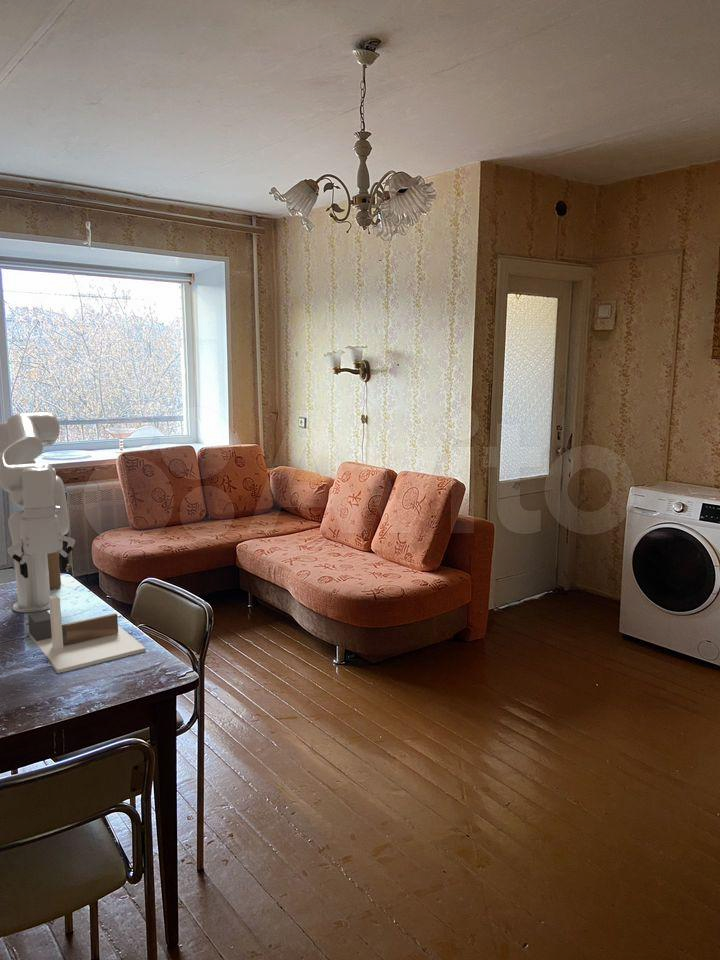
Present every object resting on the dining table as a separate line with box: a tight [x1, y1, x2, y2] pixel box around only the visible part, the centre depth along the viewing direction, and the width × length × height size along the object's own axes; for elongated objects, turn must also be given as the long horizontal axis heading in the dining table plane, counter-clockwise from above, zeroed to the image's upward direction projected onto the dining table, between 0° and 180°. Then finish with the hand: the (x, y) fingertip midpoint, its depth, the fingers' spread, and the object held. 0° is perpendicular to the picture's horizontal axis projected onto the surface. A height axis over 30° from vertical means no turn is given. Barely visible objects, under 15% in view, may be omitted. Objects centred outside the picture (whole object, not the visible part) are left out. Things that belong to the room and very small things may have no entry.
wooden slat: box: [62, 612, 119, 645], centre depth 194 cm, size 1×15×6 cm, turn 128°
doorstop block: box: [27, 610, 52, 641], centre depth 198 cm, size 8×5×6 cm, turn 38°
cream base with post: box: [28, 595, 146, 674], centre depth 193 cm, size 30×22×15 cm
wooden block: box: [47, 552, 62, 590], centre depth 243 cm, size 10×10×20 cm
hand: (44, 573), depth 192 cm, fingers open, 9 cm apart
